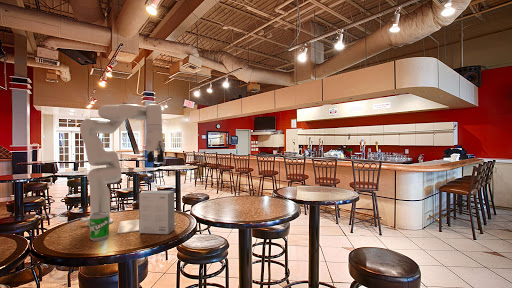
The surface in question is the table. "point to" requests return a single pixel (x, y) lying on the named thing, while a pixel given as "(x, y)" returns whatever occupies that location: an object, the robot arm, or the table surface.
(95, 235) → the soda can
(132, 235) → the table surface
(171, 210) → the hard drive box
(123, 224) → the board
